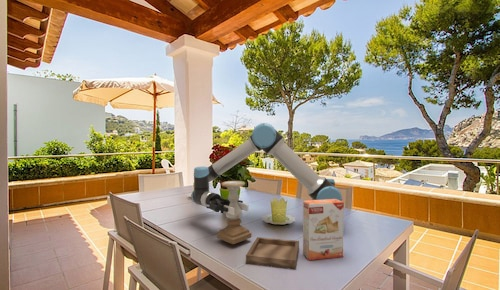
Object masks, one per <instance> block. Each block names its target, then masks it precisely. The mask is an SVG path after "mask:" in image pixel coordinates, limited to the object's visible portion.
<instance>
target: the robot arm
mask: <svg viewBox="0 0 500 290" xmlns="http://www.w3.org/2000/svg"><path fill="white" fill-rule="evenodd" d="M251 132H252V133H251V135H249V137H248V139H247V140H246V141H245V142H243V143H241V144H240V145H239V146H237V147H236V148H234V149H232V150H231V151H230V152H229V153H227V154H225V155H224V156H223V157H221V158H220V159H218V160H216V161H215V162H214V163H212V164H211V165H210V166H208V167H207V166H196V167H193V188H194V189H193V190H192V192H191V195H190V198H191V201H192V202H193V203H195V204H196V205H199V206H201V207H202V206H203V207H204V208H206V209H210V210H212V211H213V212H216V213H219V212H220V214H224V213H229V214H232V215H234V208H233V207H230V206H229V204H230V201H229V199H228V198H224V197H222V195H220V194H219V193H215V192H212V191H210V182H213V181H214V180H215V179H217V178H218V177H220V176H221V175H223V173H225V172H227V171H228V170H230V169H232V168H233V167H234V166H235V165H238V164H239V163H241V162H242V161H244V160H245V159H247V158H248V157H249V156H251V155H252V154H254V153H256V152H260V151H263V152H264V153H265V154H266V155H268V156H269V155H271V156H272V157H274V159H276V160H277V161H278V162H279V163H280V164H281V165H282V166H283V167H284V168H285V169H286V170H287V171H288V172H289V173H290V174H291V175H292V176H293V177H294V178H295V179H296V180H297V181H298V182H299V183H300V184H301V185H302V186H303V187H305V189H307V195H308V196H309V197H310V198H311V200H325V199H337V200H340V201H342V202H343V196H342V193H341V191H340V190H339V188H337V187H336V182H335V179H333V178H326V176H319V174H318V173H316V171H315V170H314V169H312V167H310V166H309V164H308V163H306V161H304V160H303V159H302V158H301V157H300V156H299V155H298V154H297V153H296V152H295V151H294V150H292V148H291V147H290V146H288V145H287V143H286V142H285V141H284V140H285V139H284V136H283V135H282V134H280V133H279V131H277V130H276V129H275V127H274V126H273V125H272V124H270V123H268V122H262V123H259V124H257V125H256V126H255V127H254V128H253V130H252V131H251ZM237 203H238V205H239V207H240V208H241V210H242V211H245V212H249V211H250V210H249V204H246V203H244V202H243V200H240V199H238V202H237Z"/></svg>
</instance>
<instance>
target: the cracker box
mask: <svg viewBox="0 0 500 290" xmlns="http://www.w3.org/2000/svg"><path fill="white" fill-rule="evenodd" d="M344 205H345V203H344V201H343V200H342V201H340V200H337V199H325V200H312V199H310V200H309V199H308V200H303V201H302V210H303V211H302V254H303V256H304V257H305V258H306V259H307V260H308V261H315V260H324V259H334V258H336V259H337V258H342V257H344V215H345V214H344V212H345V211H344V210H345V209H344Z"/></svg>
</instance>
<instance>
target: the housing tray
mask: <svg viewBox="0 0 500 290" xmlns="http://www.w3.org/2000/svg"><path fill="white" fill-rule="evenodd" d="M299 251H300V241H299V240H291V239H282V238H281V239H280V238H268V237H259V236H258V237H256V238H255V240H254V241H253V243H252V245H251V246H250V248H249V250H248V251H247V253H246V254H245V264H247V265H255V266H262V265H263V266H264V267H271V266H272V267H274V268H279V267H280V268H282V269H288V268H290V269H289V270H296V267H297V262H298V257H299ZM280 268H279V269H280Z"/></svg>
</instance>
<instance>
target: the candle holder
mask: <svg viewBox="0 0 500 290" xmlns="http://www.w3.org/2000/svg"><path fill="white" fill-rule="evenodd" d="M220 183H221V186H222V187H226V189H227V191H229V192H228V193H229V194H228V196H227V199H229V201H230V204H229V206H230V207H233V208H234V215H232V214H229V213H226V212H224V213H225V216H226V218H227V220H226V224H227V225H226V227H224V228H221V229H219V232H217V233H216V238H217V239H219V240H221V241H224V242H225V243H228V244H231V245H235V244H238V243H241V242H243V241H246V240H248V239H251V238H252V232H251V231H250V230H249V228H246V227H243V225H241V223H242V220H241V217H242V216H243V210H241V208H240V207H239V205H238V203H237V202H238V200H240V196H239V194H238V191H239V189H240V187H242V186H245V185H246V182H245V181H243V180H242V181H241V180H227V181H226V180H225V181H223V182H220Z"/></svg>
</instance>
